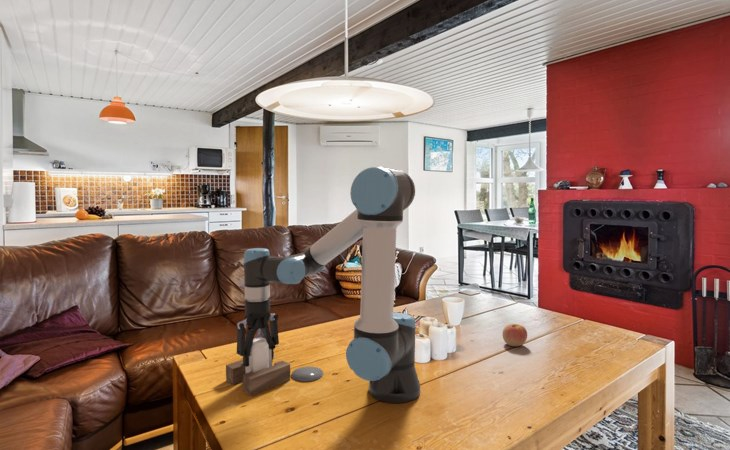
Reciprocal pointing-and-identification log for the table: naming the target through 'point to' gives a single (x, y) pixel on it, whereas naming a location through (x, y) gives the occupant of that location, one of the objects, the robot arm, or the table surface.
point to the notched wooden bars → (257, 376)
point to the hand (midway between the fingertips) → (258, 371)
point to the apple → (514, 334)
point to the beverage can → (259, 354)
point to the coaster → (307, 374)
